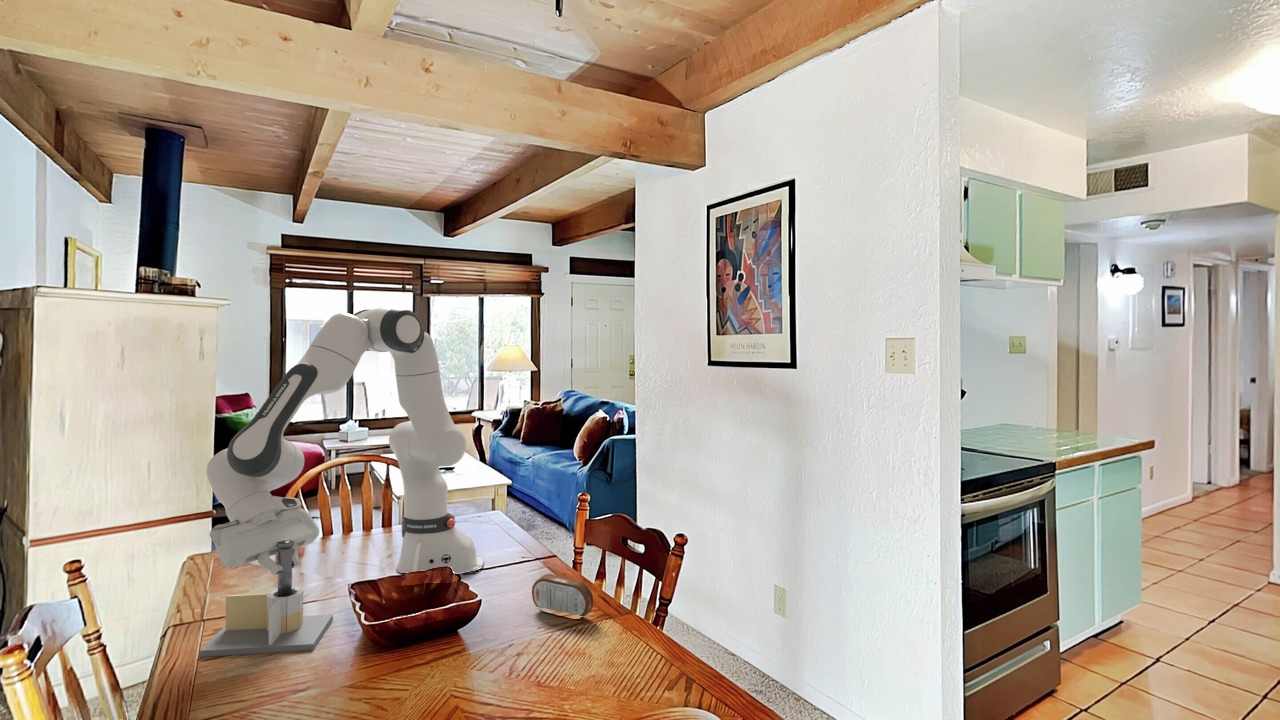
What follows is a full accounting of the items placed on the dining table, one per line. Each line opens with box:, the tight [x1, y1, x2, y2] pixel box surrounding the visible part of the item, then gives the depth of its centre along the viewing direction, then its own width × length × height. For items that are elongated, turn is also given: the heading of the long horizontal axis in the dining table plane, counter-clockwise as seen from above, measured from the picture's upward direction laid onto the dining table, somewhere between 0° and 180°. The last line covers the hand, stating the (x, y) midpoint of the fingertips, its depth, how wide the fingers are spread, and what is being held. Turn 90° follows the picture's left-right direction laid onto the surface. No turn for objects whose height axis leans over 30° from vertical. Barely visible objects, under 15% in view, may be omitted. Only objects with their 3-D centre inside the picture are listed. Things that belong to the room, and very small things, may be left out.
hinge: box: [199, 586, 334, 658], centre depth 132 cm, size 20×14×8 cm
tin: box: [531, 573, 594, 617], centre depth 146 cm, size 15×3×8 cm, turn 65°
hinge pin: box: [277, 540, 294, 597], centre depth 134 cm, size 3×3×12 cm
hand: (287, 569), depth 134 cm, fingers closed on hinge pin, 3 cm apart
